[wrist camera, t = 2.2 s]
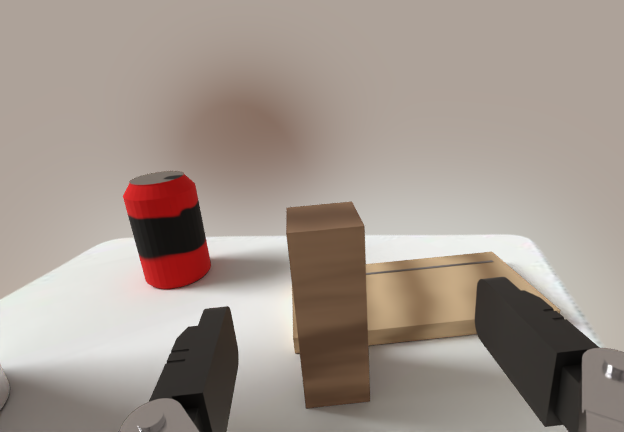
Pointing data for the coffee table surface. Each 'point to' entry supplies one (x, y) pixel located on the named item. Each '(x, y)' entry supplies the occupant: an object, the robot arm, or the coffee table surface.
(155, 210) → the soda can
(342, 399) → the block
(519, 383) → the robot arm
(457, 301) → the board
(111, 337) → the coffee table surface
